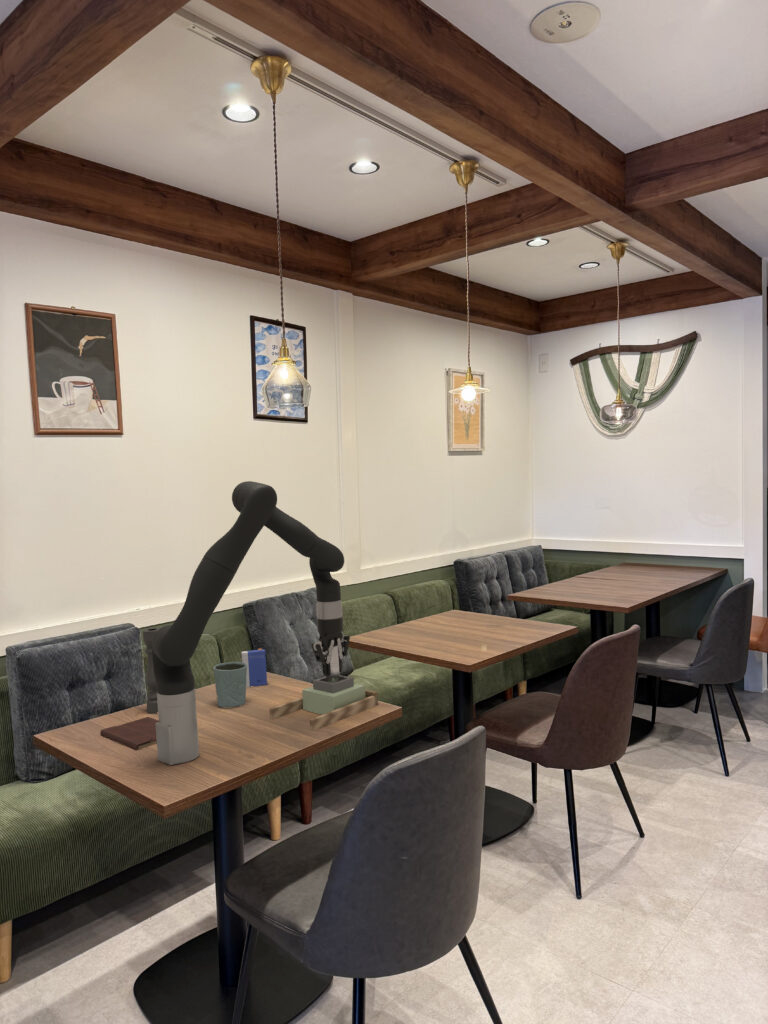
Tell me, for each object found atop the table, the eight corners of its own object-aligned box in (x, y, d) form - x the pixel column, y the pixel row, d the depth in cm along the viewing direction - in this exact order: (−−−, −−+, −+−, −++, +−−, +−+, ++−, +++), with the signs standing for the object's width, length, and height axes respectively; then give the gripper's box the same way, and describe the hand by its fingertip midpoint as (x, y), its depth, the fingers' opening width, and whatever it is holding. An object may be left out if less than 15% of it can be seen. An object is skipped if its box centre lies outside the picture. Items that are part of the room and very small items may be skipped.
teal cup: (214, 701, 230) (212, 663, 230) (247, 697, 233) (244, 660, 232) (217, 710, 220) (214, 671, 220) (251, 706, 223) (248, 667, 223)
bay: (313, 735, 195) (312, 716, 195) (270, 722, 207) (269, 705, 207) (378, 708, 215) (377, 692, 214) (335, 698, 227) (334, 682, 226)
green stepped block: (334, 717, 205) (333, 688, 204) (303, 709, 213) (301, 681, 213) (366, 705, 214) (364, 677, 214) (334, 698, 223) (333, 670, 223)
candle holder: (154, 714, 220) (149, 632, 218) (142, 711, 223) (137, 630, 222) (172, 708, 224) (167, 628, 223) (159, 705, 228) (154, 626, 227)
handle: (333, 689, 211) (331, 647, 210) (323, 686, 213) (321, 646, 213) (342, 685, 214) (340, 645, 213) (333, 683, 216) (331, 643, 216)
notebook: (149, 721, 215) (148, 715, 215) (186, 735, 202) (186, 728, 202) (100, 736, 204) (99, 729, 204) (136, 752, 191) (136, 744, 190)
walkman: (266, 682, 248) (264, 648, 248) (267, 685, 246) (265, 649, 245) (243, 685, 246) (240, 650, 246) (243, 687, 244) (241, 652, 243)
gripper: (320, 621, 205) (324, 681, 206) (355, 612, 215) (358, 670, 216) (302, 618, 210) (306, 677, 210) (337, 610, 220) (340, 666, 221)
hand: (332, 673), depth 213 cm, fingers closed on handle, 4 cm apart
